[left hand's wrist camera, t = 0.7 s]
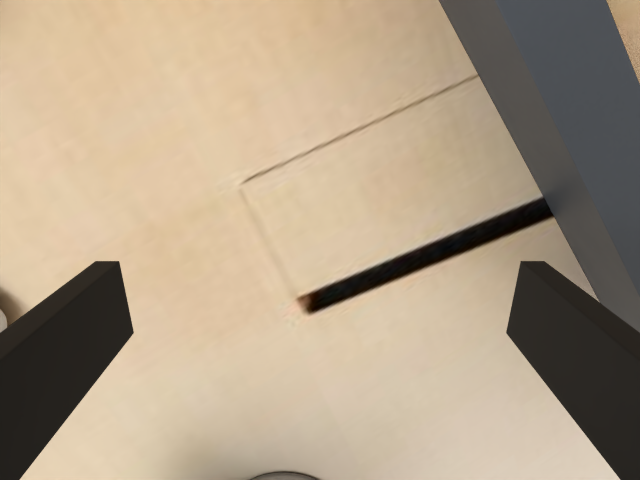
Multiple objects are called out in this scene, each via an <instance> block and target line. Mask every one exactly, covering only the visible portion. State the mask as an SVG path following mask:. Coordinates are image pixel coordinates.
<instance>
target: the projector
mask: <svg viewBox="0 0 640 480" xmlns="http://www.w3.org/2000/svg"><path fill="white" fill-rule="evenodd" d="M6 328H7V319H6V316H5V314H4V313H3V312H2V311H1V310H0V332H2V331H3V330H4V329H6Z"/></svg>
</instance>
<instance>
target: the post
mask: <svg viewBox="0 0 640 480" xmlns="http://www.w3.org/2000/svg"><path fill="white" fill-rule="evenodd" d="M439 1H440V3H441V5H442V7H443V9H444V11H445V13H446V15H447V16H448V18H449V20H450V22H451V24H452V26H453V28H454V30H455V31H456V33H457V35H458V37H459V39H460V41H461V43H462V45H463V46H464V48H465V50H466V52H467V54H468V56H469V58H470V60H471V61H472V63H473V65H474V67H475V69H476V71H477V73H478V75H479V76H480V78H481V80H482V82H483V84H484V86H485V88H486V90H487V91H488V93H489V95H490V97H491V99H492V101H493V103H494V105H495V106H496V108H497V110H498V112H499V114H500V116H501V118H502V120H503V121H504V123H505V125H506V127H507V129H508V131H509V133H510V135H511V136H512V138H513V140H514V142H515V144H516V146H517V148H518V150H519V151H520V153H521V155H522V157H523V159H524V161H525V163H526V165H527V166H528V168H529V170H530V172H531V174H532V176H533V178H534V179H535V181H536V183H537V185H538V187H539V189H540V191H541V193H542V194H543V196H544V198H545V200H546V202H547V204H548V206H549V208H550V209H551V211H552V213H553V215H554V217H555V219H556V221H557V223H558V224H559V226H560V228H561V230H562V232H563V234H564V236H565V238H566V239H567V241H568V243H569V245H570V247H571V249H572V251H573V253H574V254H575V256H576V258H577V260H578V262H579V264H580V266H581V268H582V269H583V271H584V273H585V275H586V277H587V279H588V281H589V283H590V284H591V286H592V288H593V290H594V292H595V294H596V296H597V298H598V299H599V301H600V303H601V304H602V305H603V306H605V307H606V308H607V309H609V310H610V311H612V312H613V313H614V314H616V315H617V316H618V317H620V318H621V319H622V320H624V321H625V322H626V323H628V324H629V325H630V326H632V327H633V328H634V329H636V330H637V331H638V332H640V84H639V81H638V79H637V76H636V74H635V71H634V69H633V66H632V64H631V61H630V59H629V56H628V54H627V51H626V49H625V46H624V44H623V41H622V39H621V36H620V34H619V31H618V29H617V26H616V24H615V21H614V19H613V16H612V14H611V11H610V9H609V6H608V4H607V1H606V0H439Z"/></svg>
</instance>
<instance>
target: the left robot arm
mask: <svg viewBox="0 0 640 480" xmlns="http://www.w3.org/2000/svg"><path fill="white" fill-rule="evenodd" d="M133 333H134V332H133V327H132V322H131V317H130V312H129V307H128V302H127V297H126V293H125V288H124V283H123V278H122V273H121V268H120V263H119V261H95V262H94V263H93V264H91V265H90V266H89V267H87V268H86V269H85V270H83V271H82V272H81V273H79V274H78V275H77V276H75V277H74V278H73V279H71V280H70V281H69V282H67V283H66V284H65V285H63V286H62V287H61V288H59V289H58V290H57V291H55V292H54V293H53V294H51V295H50V296H49V297H47V298H46V299H45V300H43V301H42V302H41V303H39V304H38V305H37V306H35V307H34V308H33V309H31V310H30V311H28V312H27V313H26V314H24V315H23V316H22V317H20V318H19V319H18V320H16V321H15V322H14V323H12V324H11V325H10V326H8V327H7V328H6V329H4V330H3V331H2V332H0V480H20V478H21V477H22V476H23V474H24V473H25V472H26V471H27V469H28V468H29V467H30V465H31V464H32V463H33V462H34V460H35V459H36V458H37V456H38V455H39V454H40V453H41V451H42V450H43V449H44V447H45V446H46V445H47V444H48V442H49V441H50V440H51V438H52V437H53V436H54V435H55V433H56V432H57V431H58V429H59V428H60V427H61V426H62V424H63V423H64V422H65V420H66V419H67V418H68V417H69V415H70V414H71V413H72V411H73V410H74V409H75V408H76V406H77V405H78V404H79V402H80V401H81V400H82V399H83V397H84V396H85V395H86V394H87V392H88V391H89V390H90V388H91V387H92V386H93V385H94V383H95V382H96V381H97V379H98V378H99V377H100V376H101V374H102V373H103V372H104V370H105V369H106V368H107V367H108V365H109V364H110V363H111V361H112V360H113V359H114V358H115V356H116V355H117V354H118V352H119V351H120V350H121V349H122V347H123V346H124V345H125V343H126V342H127V341H128V340H129V338H130V337H131V336H132V334H133ZM506 333H507V334H508V336H509V337H510V338H511V340H512V341H513V342H514V343H515V345H516V346H517V347H518V349H519V350H520V351H521V352H522V354H523V355H524V356H525V358H526V359H527V360H528V361H529V363H530V364H531V365H532V367H533V368H534V369H535V370H536V372H537V373H538V374H539V376H540V377H541V378H542V379H543V381H544V382H545V383H546V385H547V386H548V387H549V388H550V390H551V391H552V392H553V394H554V395H555V396H556V397H557V399H558V400H559V401H560V402H561V404H562V405H563V406H564V408H565V409H566V410H567V411H568V413H569V414H570V415H571V417H572V418H573V419H574V420H575V422H576V423H577V424H578V426H579V427H580V428H581V429H582V431H583V432H584V433H585V435H586V436H587V437H588V438H589V440H590V441H591V442H592V444H593V445H594V446H595V447H596V449H597V450H598V451H599V453H600V454H601V455H602V456H603V458H604V459H605V460H606V462H607V463H608V464H609V465H610V467H611V468H612V469H613V471H614V472H615V473H616V474H617V476H618V477H619V478H620V480H640V332H638V331H637V330H636V329H634V328H633V327H632V326H630V325H629V324H628V323H626V322H625V321H624V320H622V319H621V318H620V317H618V316H617V315H616V314H614V313H613V312H612V311H610V310H609V309H607V308H606V307H605V306H603V305H602V304H601V303H599V302H598V301H597V300H595V299H594V298H593V297H591V296H590V295H589V294H587V293H586V292H585V291H583V290H582V289H581V288H579V287H578V286H577V285H575V284H574V283H573V282H571V281H570V280H569V279H567V278H566V277H565V276H563V275H562V274H561V273H559V272H558V271H557V270H555V269H554V268H553V267H551V266H550V265H549V264H547V263H546V262H545V261H521V263H520V268H519V273H518V278H517V283H516V288H515V293H514V297H513V302H512V307H511V312H510V317H509V322H508V327H507V332H506ZM251 480H316V479H314V478H311V477H308V476H305V475H301V474H296V473H286V472H281V473H270V474H265V475H261V476H258V477H256V478H253V479H251Z"/></svg>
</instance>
